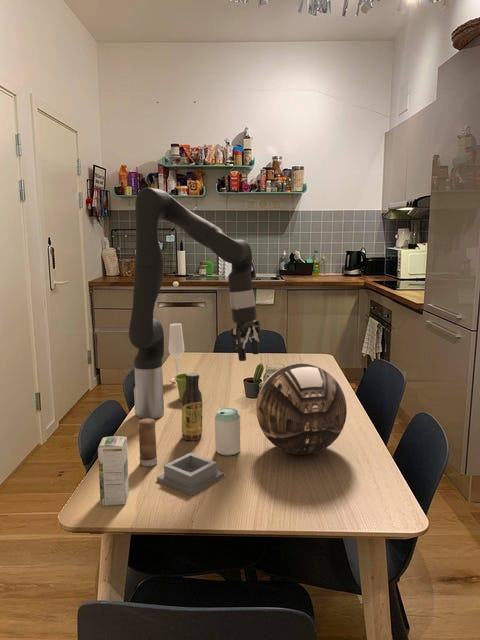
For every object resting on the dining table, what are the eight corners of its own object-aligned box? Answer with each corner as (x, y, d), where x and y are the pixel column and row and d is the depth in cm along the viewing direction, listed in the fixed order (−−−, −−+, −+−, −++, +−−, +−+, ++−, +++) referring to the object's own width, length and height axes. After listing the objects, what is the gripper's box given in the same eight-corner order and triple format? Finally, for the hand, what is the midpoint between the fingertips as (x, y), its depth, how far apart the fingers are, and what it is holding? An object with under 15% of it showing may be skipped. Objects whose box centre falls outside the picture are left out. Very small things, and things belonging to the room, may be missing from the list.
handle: (136, 464, 136) (134, 422, 134) (149, 458, 139) (147, 417, 137) (147, 469, 133) (145, 426, 131) (160, 463, 136) (159, 421, 134)
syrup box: (104, 493, 121) (101, 436, 118) (129, 492, 121) (126, 435, 119) (100, 506, 115) (96, 446, 113) (126, 505, 116) (123, 445, 113)
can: (231, 459, 138) (231, 417, 136) (210, 453, 142) (209, 412, 140) (245, 449, 144) (244, 409, 142) (224, 444, 148) (223, 405, 146)
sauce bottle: (186, 443, 149) (184, 378, 146) (178, 435, 155) (176, 373, 151) (206, 438, 152) (205, 375, 149) (198, 431, 158) (196, 370, 154)
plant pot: (170, 401, 187) (169, 378, 185) (182, 393, 195) (182, 371, 194) (193, 404, 183) (192, 381, 182) (204, 396, 192) (204, 374, 190)
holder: (157, 480, 127) (156, 465, 126) (190, 463, 136) (190, 449, 135) (191, 495, 119) (190, 480, 119) (224, 476, 128) (224, 461, 128)
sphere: (327, 430, 157) (329, 352, 153) (360, 466, 133) (362, 374, 129) (249, 436, 153) (248, 356, 149) (267, 475, 129) (267, 380, 125)
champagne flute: (188, 379, 213) (187, 323, 209) (178, 383, 208) (176, 326, 204) (176, 377, 217) (174, 322, 213) (166, 381, 211) (164, 325, 207)
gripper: (243, 302, 161) (249, 352, 164) (220, 309, 149) (227, 363, 151) (264, 301, 158) (270, 352, 160) (242, 308, 146) (249, 363, 148)
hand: (249, 357), depth 156 cm, fingers open, 8 cm apart
